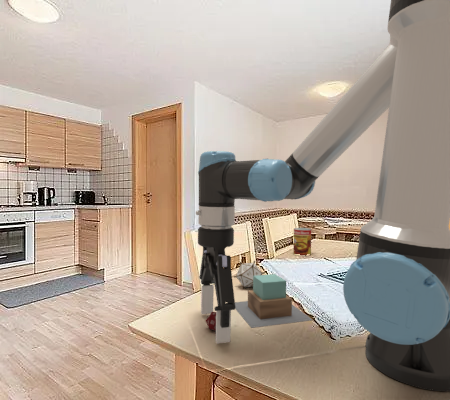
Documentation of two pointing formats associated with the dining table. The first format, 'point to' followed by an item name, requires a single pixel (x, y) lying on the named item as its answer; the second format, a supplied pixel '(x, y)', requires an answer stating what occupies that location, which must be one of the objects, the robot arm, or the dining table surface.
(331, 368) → the dining table surface
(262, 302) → the base block
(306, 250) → the canned food
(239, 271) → the game die
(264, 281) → the mid block
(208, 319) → the dice
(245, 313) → the mat
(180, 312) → the dining table surface
